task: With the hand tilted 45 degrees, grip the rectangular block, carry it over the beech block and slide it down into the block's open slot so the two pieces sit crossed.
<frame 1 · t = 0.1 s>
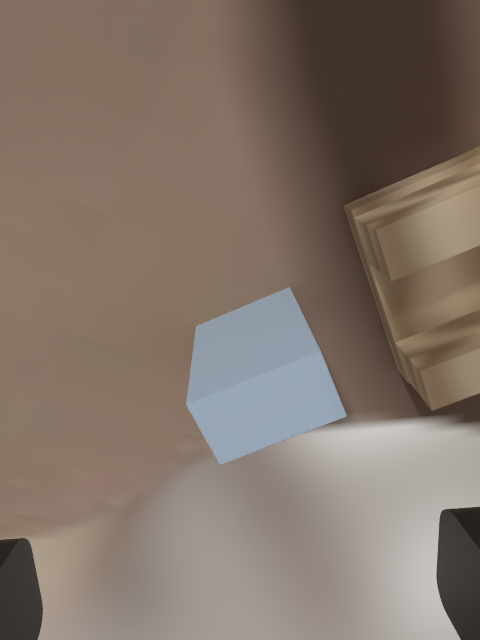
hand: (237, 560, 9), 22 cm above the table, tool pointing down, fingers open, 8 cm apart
slotted block: (471, 253, 30), on the table
rectangular block: (253, 331, 31), on the table
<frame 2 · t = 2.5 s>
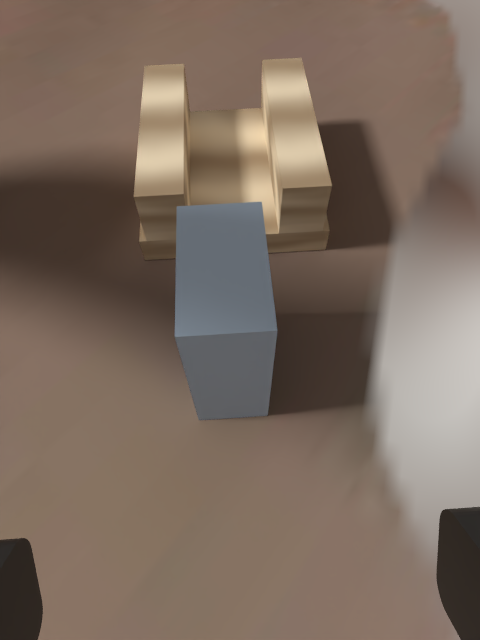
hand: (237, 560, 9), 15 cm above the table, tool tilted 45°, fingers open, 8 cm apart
slotted block: (230, 186, 36), on the table
rectangular block: (230, 363, 28), on the table
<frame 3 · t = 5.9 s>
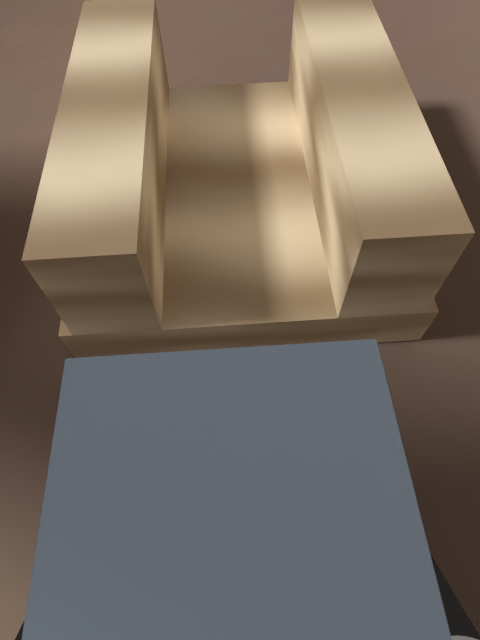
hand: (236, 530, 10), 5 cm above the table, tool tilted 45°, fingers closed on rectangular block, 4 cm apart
slotted block: (238, 215, 21), on the table
rectangular block: (245, 625, 12), on the table, touching gripper
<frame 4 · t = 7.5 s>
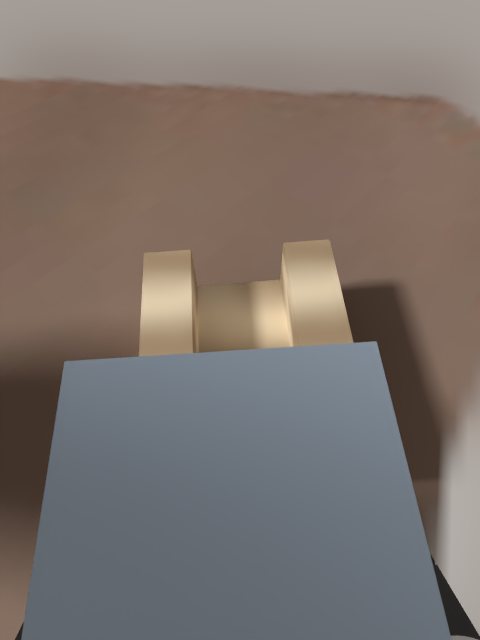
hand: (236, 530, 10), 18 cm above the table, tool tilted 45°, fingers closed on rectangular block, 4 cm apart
slotted block: (247, 383, 30), on the table
rectangular block: (245, 627, 12), point 13 cm above the table, touching gripper
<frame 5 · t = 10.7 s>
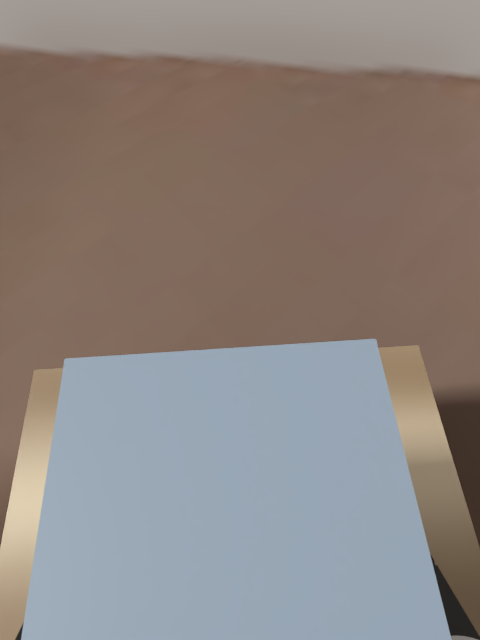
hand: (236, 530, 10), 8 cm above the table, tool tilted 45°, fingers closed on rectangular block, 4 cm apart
slotted block: (244, 615, 15), on the table
rectangular block: (245, 625, 12), point 3 cm above the table, touching gripper
when the fingers open (8 cm above the table, at t = 11.0 s): rectangular block drops 1 cm, resting on slotted block.
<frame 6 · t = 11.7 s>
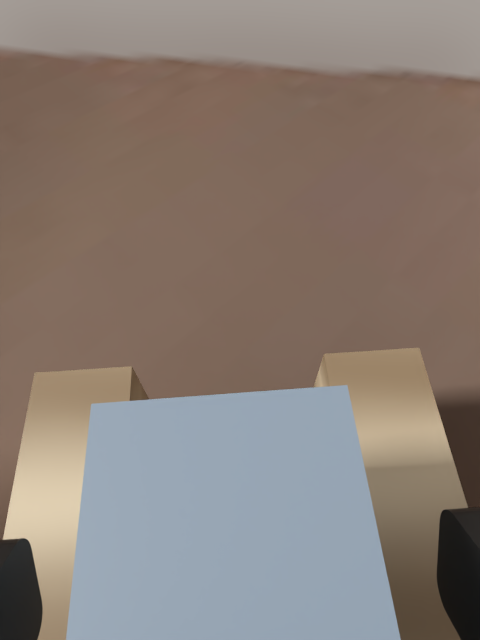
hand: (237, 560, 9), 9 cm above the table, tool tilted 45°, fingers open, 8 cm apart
slotted block: (245, 619, 15), on the table
rectangular block: (243, 623, 14), point 2 cm above the table, touching slotted block
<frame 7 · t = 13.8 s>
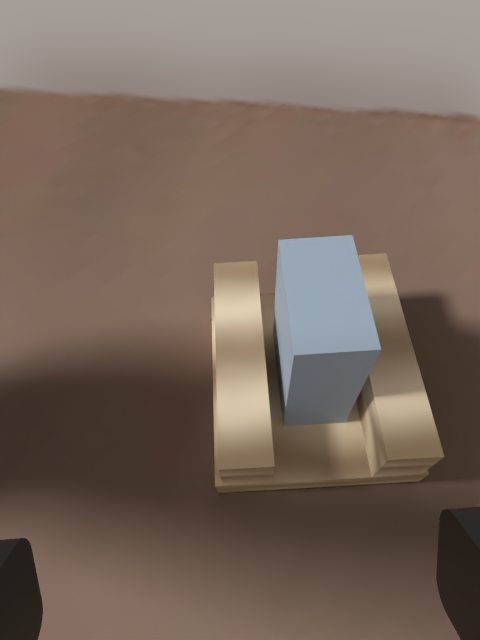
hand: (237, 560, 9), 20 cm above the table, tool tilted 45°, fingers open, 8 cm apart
slotted block: (304, 386, 32), on the table
rectangular block: (306, 375, 31), point 2 cm above the table, touching slotted block
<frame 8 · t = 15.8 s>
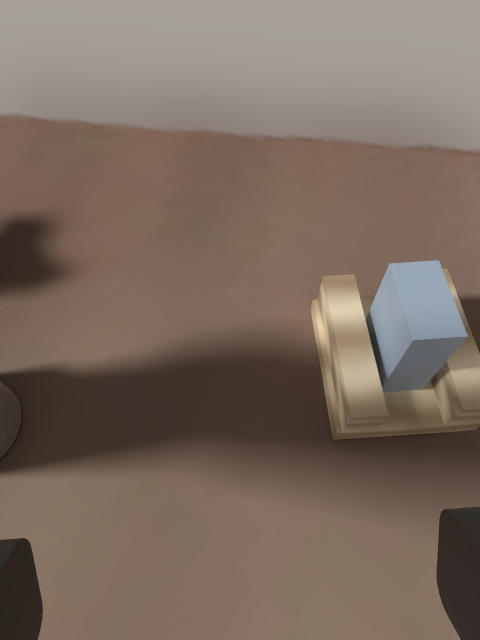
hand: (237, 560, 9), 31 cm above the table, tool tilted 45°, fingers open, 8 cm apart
slotted block: (385, 365, 44), on the table
rectangular block: (391, 356, 43), point 2 cm above the table, touching slotted block
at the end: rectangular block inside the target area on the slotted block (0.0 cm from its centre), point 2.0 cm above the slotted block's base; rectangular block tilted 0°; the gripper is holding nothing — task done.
